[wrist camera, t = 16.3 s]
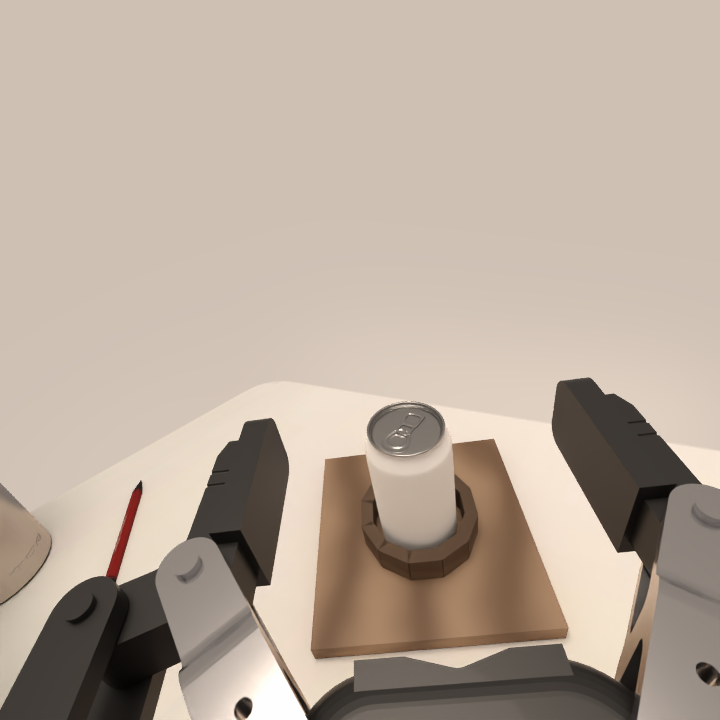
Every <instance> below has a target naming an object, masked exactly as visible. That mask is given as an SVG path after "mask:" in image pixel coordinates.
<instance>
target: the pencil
mask: <svg viewBox="0 0 720 720" xmlns="http://www.w3.org/2000/svg"><path fill="white" fill-rule="evenodd" d="M141 495H142V482H141V481H140V482H139V484H138V485H137V487H136V488H135V489H134V491H133V493H132V496H131V499H130V502H129V505H128V508H127V511H126V514H125V518H124V521H123V524H122V527H121V530H120V533H119V536H118V540H117V543H116V546H115V549H114V552H113V555H112V559H111V562H110V565H109V568H108V571H107V574H106V577H109V578H111V579H112V580H113V581H114V582H115V583H116V579H117V576H118V573H119V569H120V566H121V562H122V559H123V556H124V552H125V549H126V546H127V542H128V539H129V535H130V532H131V529H132V525H133V522H134V518H135V515H136V512H137V508H138V505H139V502H140V498H141Z"/></svg>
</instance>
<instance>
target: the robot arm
mask: <svg viewBox="0 0 720 720" xmlns="http://www.w3.org/2000/svg"><path fill="white" fill-rule="evenodd" d="M552 431H553V436H554V439H555V442H556V444H557V446H558V448H559V450H560V451H561V453H562V455H563V457H564V459H565V460H566V462H567V464H568V466H569V467H570V469H571V471H572V473H573V475H574V476H575V478H576V480H577V482H578V483H579V485H580V487H581V489H582V491H583V492H584V494H585V496H586V498H587V499H588V501H589V503H590V505H591V507H592V508H593V510H594V512H595V514H596V515H597V517H598V519H599V521H600V523H601V524H602V526H603V528H604V530H605V531H606V533H607V535H608V537H609V538H610V540H611V542H612V544H613V546H614V547H615V549H616V551H617V553H620V552H630V551H636V553H637V554H638V556H639V557H640V559H641V561H642V564H641V567H640V570H639V575H638V580H637V585H636V590H635V595H634V600H633V605H632V610H631V615H630V620H629V625H628V630H627V635H626V639H625V643H624V647H623V651H622V654H621V657H620V660H619V664H618V667H617V671H616V676H615V679H613V678H611V677H610V676H608V675H606V674H605V673H603V672H601V671H598V670H596V669H594V668H592V667H590V666H587V665H584V664H581V663H578V662H575V661H571V660H568V658H567V656H566V653H565V650H564V648H563V645H562V644H552V645H540V646H528V647H515V648H508V649H506V650H503V651H501V652H499V653H496V654H494V655H491V656H489V657H487V658H484V659H482V660H479V661H477V662H475V663H472V664H470V665H467V666H465V667H462V668H452V667H448V666H443V665H439V664H434V663H430V662H425V661H421V660H416V659H412V658H407V657H393V658H381V659H369V660H357V661H354V676H353V677H351V678H349V679H346V680H345V681H343V682H341V683H340V684H338V685H336V686H335V687H334V688H332V689H331V690H330V691H329V692H327V693H326V694H325V695H324V696H323V697H322V698H321V699H320V700H319V701H318V702H317V703H316V704H315V705H314V706H313V707H312V709H311V708H310V706H309V705H308V703H307V701H306V699H305V697H304V696H303V694H302V692H301V690H300V688H299V687H298V685H297V683H296V681H295V680H294V678H293V676H292V675H291V673H290V671H289V669H288V667H287V666H286V664H285V662H284V660H283V658H282V656H281V655H280V653H279V651H278V649H277V647H276V645H275V643H274V642H273V640H272V638H271V636H270V634H269V632H268V630H267V629H266V627H265V625H264V623H263V621H262V619H261V618H260V616H259V614H258V612H257V610H256V608H255V606H254V605H253V599H254V594H255V589H256V587H257V586H267V585H270V584H271V578H272V572H273V566H274V560H275V554H276V548H277V542H278V536H279V530H280V524H281V518H282V512H283V506H284V500H285V494H286V488H287V482H288V476H289V463H288V457H287V453H286V451H285V448H284V445H283V443H282V440H281V437H280V434H279V432H278V429H277V426H276V424H275V422H274V420H273V419H272V418H269V419H261V420H254V421H247V422H245V424H244V426H243V429H242V432H241V435H240V438H239V440H238V441H231V442H229V443H228V444H227V445H226V447H225V448H224V449H223V450H222V451H221V453H220V454H219V455H218V456H217V459H216V462H215V465H214V467H213V470H212V475H210V478H209V481H208V484H207V488H206V489H205V492H204V495H203V497H202V500H201V503H200V505H199V508H198V511H197V514H196V516H195V519H194V522H193V524H192V527H191V530H190V533H189V535H188V538H187V540H186V541H185V542H183V543H181V544H179V545H178V546H176V547H175V548H174V549H173V550H172V551H170V552H169V553H168V555H167V556H166V557H165V558H164V560H163V561H162V562H161V564H160V566H159V568H158V569H157V570H155V571H153V572H150V573H148V574H146V575H143V576H141V577H138V578H136V579H134V580H131V581H129V582H126V583H124V584H122V585H119V586H118V585H117V584H116V583H115V582H114V581H113V580H112V579H111V578H109V577H105V576H98V577H94V578H90V579H88V580H86V581H84V582H82V583H80V584H78V585H77V586H75V587H74V588H73V589H71V590H70V591H69V592H68V593H67V594H66V595H65V596H64V597H63V598H62V599H61V600H60V601H59V602H58V603H57V605H56V606H55V608H54V609H53V611H52V612H51V614H50V616H49V618H48V620H47V622H46V624H45V625H44V627H43V629H42V631H41V633H40V635H39V637H38V639H37V641H36V643H35V645H34V646H33V648H32V650H31V652H30V654H29V656H28V658H27V660H26V662H25V664H24V666H23V668H22V669H21V671H20V673H19V675H18V677H17V679H16V681H15V683H14V685H13V687H12V689H11V690H10V692H9V694H8V696H7V698H6V700H5V702H4V704H3V706H2V708H1V710H0V720H153V717H154V713H155V710H156V706H157V702H158V699H159V695H160V691H161V688H162V684H163V680H164V677H165V673H166V669H167V668H169V667H171V666H173V665H175V664H178V663H180V662H181V663H182V669H181V670H180V671H179V682H180V686H181V690H182V693H183V696H184V699H185V702H186V705H187V708H188V712H189V715H190V718H191V720H720V489H717V488H714V487H711V486H707V485H702V484H701V483H700V482H699V480H698V479H697V478H696V477H695V476H694V475H693V473H692V472H691V471H690V470H689V469H688V468H687V467H686V465H685V464H684V463H683V462H682V461H681V460H680V459H679V457H678V456H677V455H676V454H675V453H674V452H673V451H672V449H671V448H670V447H669V446H668V445H667V444H666V442H665V441H664V440H663V439H662V438H661V437H660V436H658V435H657V432H656V431H655V430H654V429H653V428H652V426H651V425H650V424H649V423H646V420H645V418H644V417H643V416H642V415H641V414H640V413H639V411H638V410H637V409H636V408H635V407H634V406H633V405H632V404H630V403H629V402H627V401H625V400H624V399H622V398H620V397H619V396H617V395H615V394H608V395H605V394H604V393H603V392H602V390H601V389H600V388H599V387H598V385H597V384H596V383H595V382H594V381H593V380H592V379H591V378H581V379H573V380H565V381H560V382H559V383H558V384H557V389H556V396H555V403H554V411H553V418H552ZM50 547H51V537H50V534H49V533H48V532H47V531H46V529H45V528H44V527H43V526H42V525H41V524H40V523H39V522H38V521H37V520H36V519H35V518H34V517H33V516H32V515H31V514H30V513H29V512H28V511H27V510H26V509H25V508H24V507H23V506H22V505H21V504H20V503H19V502H18V501H17V500H16V499H15V498H14V497H13V496H12V494H11V493H9V491H7V489H6V488H5V487H4V486H3V485H2V484H1V483H0V603H2V602H4V601H5V600H7V599H8V598H9V597H11V596H12V595H13V594H15V593H16V592H17V591H18V590H19V589H21V588H22V587H23V586H24V585H25V584H26V583H27V582H28V581H29V580H30V579H31V578H32V577H33V576H34V575H35V573H36V572H37V571H38V569H39V568H40V567H41V565H42V564H43V562H44V560H45V559H46V557H47V555H48V552H49V549H50Z"/></svg>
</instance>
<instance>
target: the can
mask: <svg viewBox="0 0 720 720" xmlns="http://www.w3.org/2000/svg"><path fill="white" fill-rule="evenodd" d="M365 453H366V458H367V463H368V468H369V472H370V477H371V482H372V486H373V490H374V495H375V499H376V504H377V508H378V513H379V517H380V521H381V525H382V529H383V533H384V536H385V538H386V540H387V541H389V542H391V543H393V544H396V545H398V546H401V547H403V548H405V549H408V550H410V551H411V550H421V549H430V548H437V547H439V546H440V545H441V544H443V543H444V542H446V541H447V540H448V539H450V538H451V537H453V536H454V535H455V533H456V525H457V524H456V500H455V482H454V465H453V449H452V440H451V436H450V433H449V431H448V429H447V428H446V426H445V422H444V419H443V417H442V416H441V414H440V413H439V412H438V411H437V410H436V409H434V408H433V407H431V406H429V405H427V404H424V403H420V402H413V401H405V402H398V403H394V404H391V405H388V406H386V407H384V408H382V409H381V410H379V411H378V412H377V413H375V414H374V415H373V417H372V418H371V419H370V421H369V423H368V426H367V438H366V442H365Z"/></svg>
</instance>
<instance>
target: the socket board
mask: <svg viewBox="0 0 720 720" xmlns="http://www.w3.org/2000/svg"><path fill="white" fill-rule="evenodd" d="M452 449H453V465H454V482H455V500H456V524H457V525H456V533H455V535H454V536H453V537H451V538H450V539H448V540H447V541H446V542H444V543H443V544H441V545H440V546H439V547H437V548H430V549H421V550H411V551H410V550H408V549H405V548H403V547H401V546H398V545H396V544H393V543H391V542H389V541H387V540H386V538H385V536H384V533H383V529H382V525H381V521H380V517H379V513H378V508H377V504H376V499H375V495H374V490H373V486H372V482H371V477H370V472H369V468H368V463H367V458H366V455H358V456H349V457H341V458H333V459H325V470H324V484H323V497H322V510H321V523H320V536H319V549H318V562H317V575H316V588H315V602H314V615H313V628H312V641H311V651H312V653H313V655H314V657H315V659H316V658H328V657H340V656H352V655H364V654H376V653H388V652H400V651H412V650H424V649H436V648H448V647H460V646H472V645H484V644H496V643H508V642H520V641H532V640H545V639H557V638H566V635H567V632H568V625H567V623H566V620H565V618H564V615H563V613H562V610H561V608H560V605H559V603H558V600H557V598H556V595H555V593H554V590H553V587H552V585H551V582H550V580H549V577H548V575H547V572H546V570H545V567H544V565H543V562H542V560H541V557H540V555H539V552H538V549H537V547H536V544H535V542H534V539H533V537H532V534H531V532H530V529H529V527H528V524H527V522H526V519H525V517H524V514H523V511H522V509H521V506H520V504H519V501H518V499H517V496H516V494H515V491H514V489H513V486H512V484H511V481H510V479H509V476H508V474H507V471H506V468H505V466H504V463H503V461H502V458H501V456H500V453H499V451H498V448H497V446H496V443H495V441H494V439H489V440H481V441H472V442H464V443H456V444H452Z"/></svg>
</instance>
